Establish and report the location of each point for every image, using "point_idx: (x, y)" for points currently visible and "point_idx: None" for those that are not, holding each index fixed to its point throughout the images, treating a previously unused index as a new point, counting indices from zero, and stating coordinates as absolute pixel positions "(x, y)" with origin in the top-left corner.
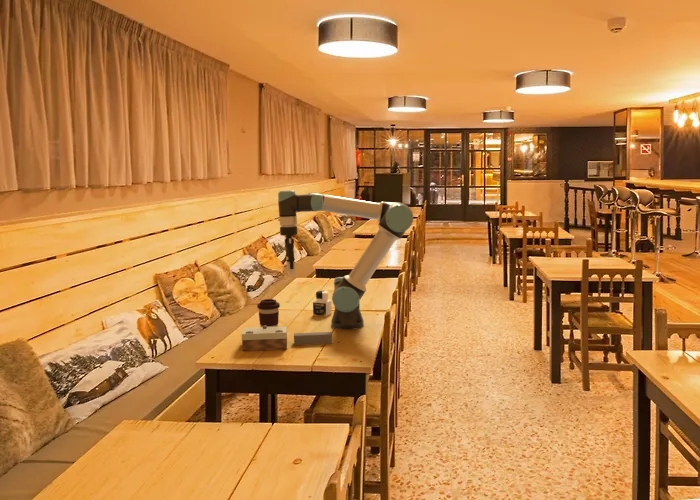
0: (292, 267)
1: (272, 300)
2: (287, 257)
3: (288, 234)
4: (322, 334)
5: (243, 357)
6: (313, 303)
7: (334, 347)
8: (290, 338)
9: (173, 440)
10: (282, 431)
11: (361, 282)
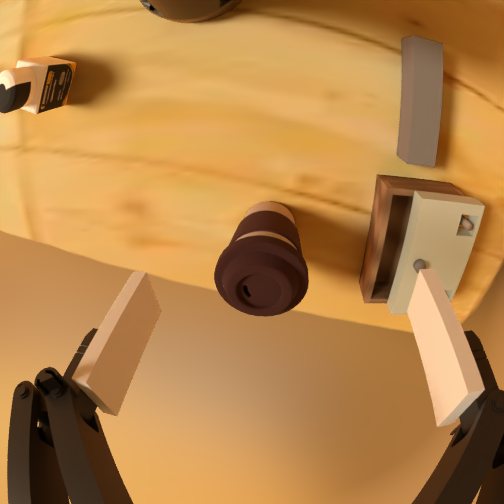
0: (477, 349)
1: (244, 276)
2: (113, 410)
3: None
4: (440, 73)
5: (464, 278)
6: (40, 110)
7: (463, 52)
8: (347, 161)
9: None
10: None
11: None
